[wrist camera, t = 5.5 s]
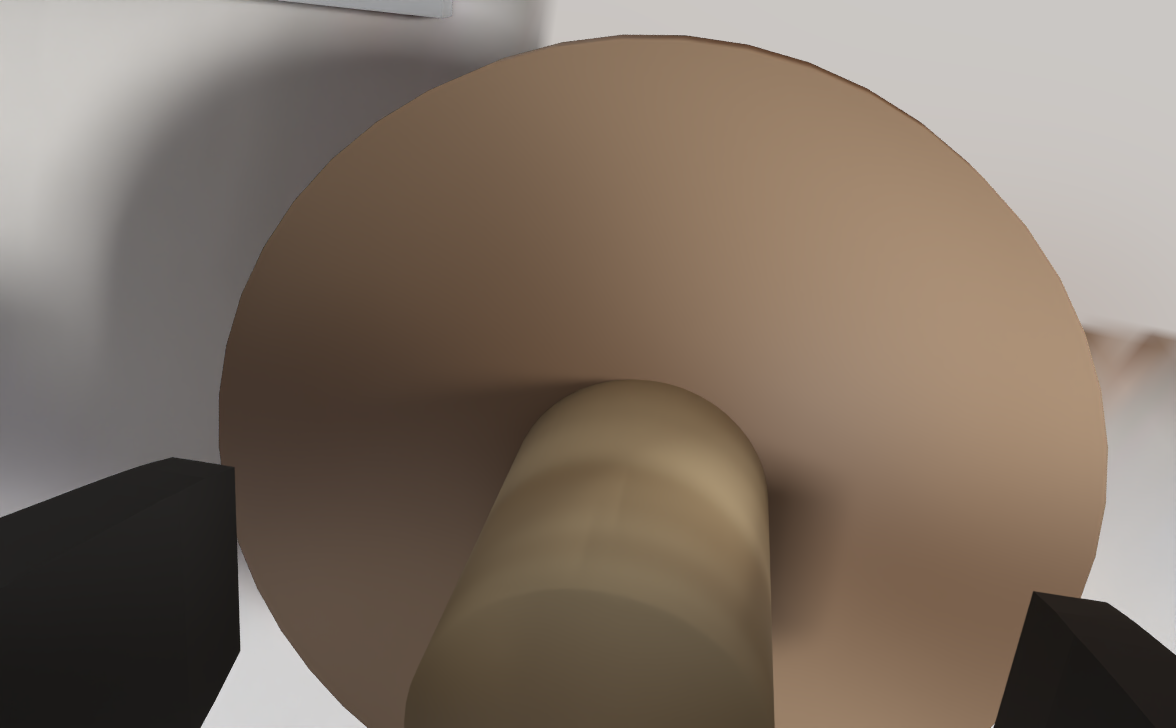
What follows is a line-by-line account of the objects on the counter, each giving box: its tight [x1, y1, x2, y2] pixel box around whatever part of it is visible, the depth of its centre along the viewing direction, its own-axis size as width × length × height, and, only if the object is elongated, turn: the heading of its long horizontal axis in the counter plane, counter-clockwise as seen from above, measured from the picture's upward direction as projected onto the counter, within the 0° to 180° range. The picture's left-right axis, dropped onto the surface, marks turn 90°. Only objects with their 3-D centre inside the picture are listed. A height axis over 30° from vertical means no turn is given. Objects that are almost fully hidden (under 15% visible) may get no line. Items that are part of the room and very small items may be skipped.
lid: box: [219, 35, 1108, 728], centre depth 10 cm, size 10×10×5 cm
